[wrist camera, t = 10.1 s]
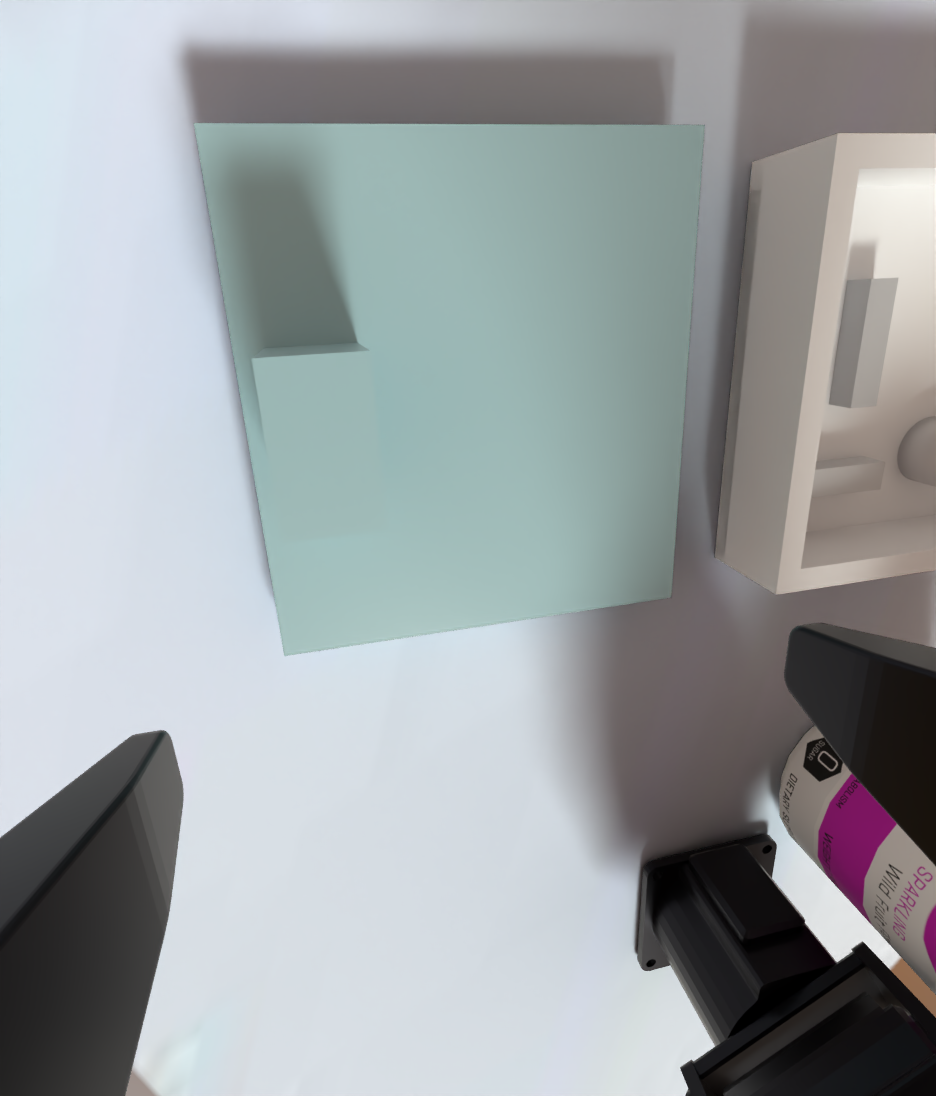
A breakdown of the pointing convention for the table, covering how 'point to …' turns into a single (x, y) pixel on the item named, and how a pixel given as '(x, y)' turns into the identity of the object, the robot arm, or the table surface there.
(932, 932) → the supplement can
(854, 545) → the white shallow square tray
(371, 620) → the lid
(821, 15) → the table surface
